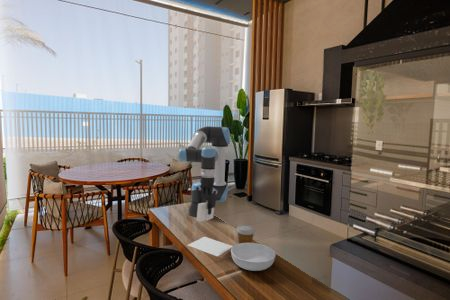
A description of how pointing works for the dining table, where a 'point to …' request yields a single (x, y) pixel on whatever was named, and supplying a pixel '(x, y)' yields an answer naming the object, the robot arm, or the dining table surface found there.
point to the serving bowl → (253, 256)
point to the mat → (210, 246)
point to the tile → (203, 212)
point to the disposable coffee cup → (245, 234)
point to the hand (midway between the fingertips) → (205, 219)
